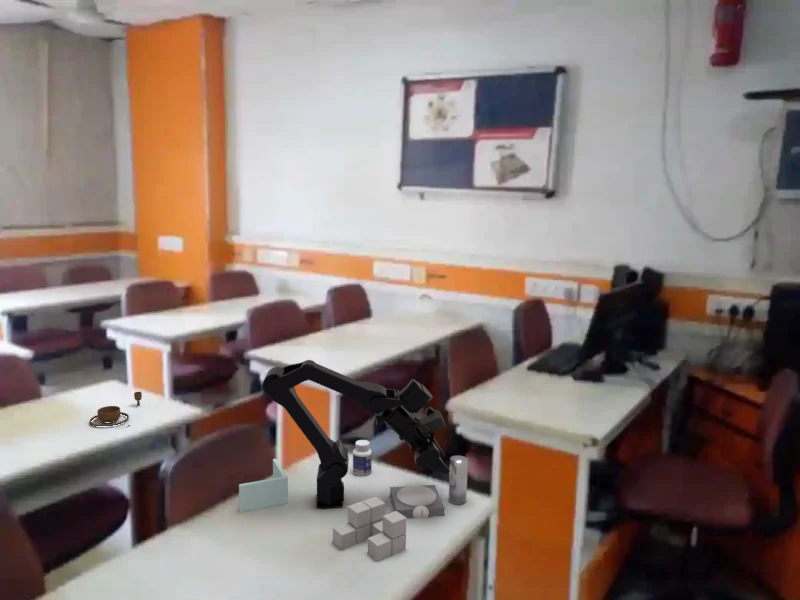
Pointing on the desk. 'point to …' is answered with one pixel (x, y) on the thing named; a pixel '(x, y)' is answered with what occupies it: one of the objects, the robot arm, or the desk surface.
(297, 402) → the robot arm
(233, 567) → the desk surface
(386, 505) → the short steel spacer
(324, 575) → the desk surface
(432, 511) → the scale
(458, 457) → the cylinder
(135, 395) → the place setting
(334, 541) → the puzzle cube
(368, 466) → the pill bottle
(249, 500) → the l-shaped corner panel
